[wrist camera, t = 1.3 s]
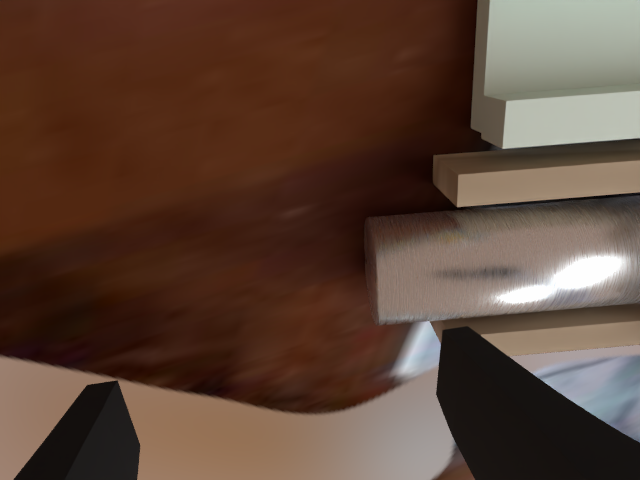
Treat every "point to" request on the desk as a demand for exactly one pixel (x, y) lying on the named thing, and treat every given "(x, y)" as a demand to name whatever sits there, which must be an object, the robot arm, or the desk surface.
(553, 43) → the cradle
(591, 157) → the wooden bracket frame
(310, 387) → the desk surface
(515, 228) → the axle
